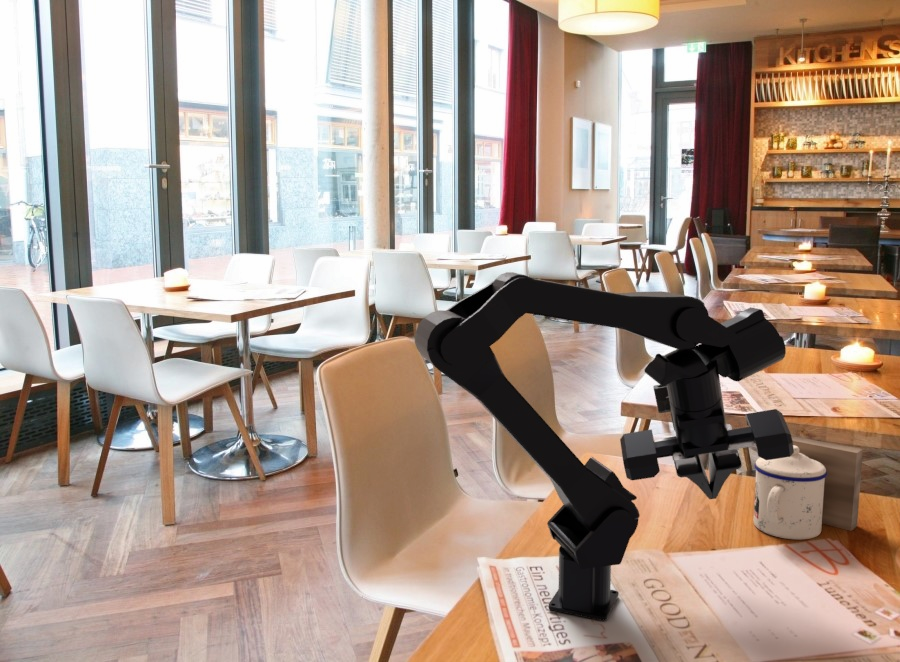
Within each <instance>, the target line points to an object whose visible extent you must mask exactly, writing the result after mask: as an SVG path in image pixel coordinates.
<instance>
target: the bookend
mask: <svg viewBox="0 0 900 662" xmlns="http://www.w3.org/2000/svg"><path fill="white" fill-rule="evenodd" d="M791 437H792V441H793V445H795V446H798V447H799V453H802V454H804V455H806V456H807V457H809V458H810V459H813V460H816V461H818V462H820V463H821V464H823V465H824V467H825V468H826V471H827V476H826V477H825V481H824V496H823V511H822V525H827V526H830V527H834V528H837V529H843V530H846V531H850V532H852V531H853V530H854V529H856V528H857V527H858V521H859V520H858V519H859V504H860V495H861V493H860V492H861V491H860V490H861V480H862V479H861V477H862V465H863V453H864V452H863V451H864V449H863V448H859V447H853V446H849V445H848V446H847V445H841V444H838V443H832V442H826V441H821V440H816V439H810V438H806V437H805V438H804V437H801V436H795V435H791Z"/></svg>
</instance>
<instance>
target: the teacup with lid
mask: <svg viewBox="0 0 900 662" xmlns="http://www.w3.org/2000/svg"><path fill="white" fill-rule="evenodd" d="M793 449H794V453H793V454H792V455H791V456H790V457H785V458H778V459H772V460H765V459H763V458H761V457H758V458H757V459H756V461H755V463H754V469H755V484H754V485H755V486H754V504H753V524H754V526H755V527H756V528H757V529H758V530H760V531H761V532H763V533H764V534H766V535H769V536H772V537H776V538H781V539H785V540H787V539H788V540H799V541H800V540H801V541H802V540H808V539H809V540H810V539H813V538H816V537H818V536H819V535H820V534H821V532H822V525H823V524H822V511H823V496H824V481H825V477H826V476H827V471H826V468H825V467H824V465H823V464H821V463H820V462H818V461H816V460H813V459H810V458H809V457H807V456H806V455H804V454H802V453H799V447H798V446H795V445H793Z"/></svg>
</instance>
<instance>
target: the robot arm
mask: <svg viewBox="0 0 900 662" xmlns="http://www.w3.org/2000/svg"><path fill="white" fill-rule="evenodd" d="M526 314H529V315H530V314H531V315H535V316H541V317H547V318H554V319H560V320H566V321H571V322H578V323H584V324H585V323H586V324H589V325H596V326H601V327H608V328H609V327H610V328H612V329H613V328H615V329H619V330H621V331H625V332H627V333H630V334H632V335H635V336H638V337H641V338H643V339H646V340H649V341H652V342H654V343H657V344H660V345H664V346H667V347H670V348H673V349H674V350H672V351H669V353H666V354H664V355H662V354H660V353H656V354H655V356H654V359H652V360H651V361H650V362H648V363H647V365H646V367H645V368H644V373H645V374H646V375H647V376H649V377H650V378H651V379H652V380H654V381H655V382H656V383H657V384H655V385H653V386H652V388H653V391H654V397H655V401H656V407H657V412H658V414H663V413H664V414H666V413H669V412H670V417H671V422H672V426H673V427H672V428H673V431H674V432H675V436H669V437H663V438H662V437H661V438H657V439H654V435H653V430H652V429H647V430H646V429H645V430H640V431H633V432H627V433H623V435H622V436H621V437H620V439H619V440H620V441H619V442H620V447H621V456H622V463H623V466H624V467H623V468H624V471H625V472H624V473H625V476H626V479H628V480H630V481H639V480H645V479H651V478H655V477H656V476H657V475H658V473H660V466H659V460H658V459H661V458H667V457H671V458H672V461H673V463H674V467H675V473H676V476H677V477H679V478H687V479H688V480H690V481H691V482H692V483H693V484H695V485H696V486H697V487H698V488H699V489H700V491H702V493H703V494H704V495H705V496H706V497H707V498H708V499H709V500H715V499H717V498H718V496H719V494H720V492H721V490H722V487H723V486H724V484H725V482H726V480H728V479H729V477H730V475H731V474H732V473H733V471H736V470H739V469H741V468H742V460H741V457H740V453H739V451H740V449H744V448H750V447H754V446H755V447H756V454H757V457H758V458H760V457H761V458H763V459H765V460H772V459H778V458H785V457H790V456H791V455H792V454H793V453H794V449H793V441H792V437H791V436H792V434H791V432H790V431H791V430H790V429H789V427H788V424H787V422H786V419H785V417H784V415H783V413H782V412H781V411H780V410H778V409H777V408H773V409H768V410H761V411H756V412H749V413H745V415H744V416H745V422H746V425H747V426H746V427H740V428H735V429H733V427H732V425H731V424H730V423H727V421H726V420H727V419H726V414H725V413H726V412H725V407H724V400H723V394H722V393H723V392H722V387H721V381H720V376H721V377H723V378H728V379H729V380H732V381H733V382H740V381H743V380H745V379H746V378H749V377H751V376H752V375H755V374H756V373H759V372H760V371H763V370H765V369H767V368H769V367H771V366H773V365H775V364H777V363H779V362H781V361H783V360H784V358H785V356H786V354H787V353H786V351H787V349H786V342H785V340H784V338H783V336H782V335H780V334H779V332H778V330H777V328H776V327H775V326H774V325H773V324H772V322H771V321H769V320H768V319H767V318H766V317H765V314H764V310H763V309H761V308H756V307H749V308H747V309H744V310H742V311H741V312H740V313H738V314H737V315H736V316H733V317H731V318H729V319H727V320H726V321H723V322H721V323H720V322H719V321H717V320H716V319H714V318H712V317H711V316H709V315H710V314H709V311H708V309H707V307H706V306H705V302H703V301H702V299H700V298H696V297H694V296H689V295H685V294H684V295H683V294H679V293H673V292H669V291H661V290H660V291H634V292H611V291H604V290H602V289H601V290H600V289H594V288H589V287H583V286H577V285H572V284H567V283H566V284H565V283H561V282H554V281H550V280H544V279H539V278H532V277H530V276H528V275H525V274H521V273H517V272H511V271H509V272H508V271H507V272H505V273H501V274H500V275H498V276H497V277H496V278H495V279H494V280H492V281H491V282H489V284H487V285H486V286H484V287H482V288H480V289H479V290H476V291H474V292H473V293H471V294H469V295H468V296H466V297H464V298H462V299H460V300H459V301H457V302H456V303H455V304H453V305H452V306H450V307H448V308H447V309H446V310H441V309H440V310H436V311H432V312H430V313H428V314H427V315H425V316H424V317H423V318H422V320H420V322H419V323H418V325H417V328H416V330H415V342H414V344H415V348H416V349H417V351H418V352H419V354H420V356H421V357H423V358H424V360H426V361H428V363H430V364H431V365H432V366H433V367H434V368H435V369H437V370H438V371H439V372H440V373H442V374H443V375H445V377H447V378H448V379H450V380H451V381H452V382H454V383H455V384H457V385H458V386H459V387H460V388H462V389H464V391H466V392H468V393H469V394H470V395H472V396H473V397H474V398H475V399H476V400H477V402H479V403H480V405H482V407H483V408H485V410H486V411H487V412H488V413H489V414H490V415H491V416H492V418H493V419H495V421H496V422H497V423H498V424H499V425H500V426H501V427H502V429H504V431H506V433H507V434H508V435H509V436H510V437H511V438H512V439H513V441H514V442H515V443H516V444H517V445H518V446H519V447H520V448H521V449H522V450H523V451H524V452H525V453H526V454H527V455H528V456H529V458H530V459H531V460H532V461H533V462H534V463H535V465H536V466H537V467H538V468H539V469H540V470H541V471H542V472H543V474H544V475H546V477H548V478H549V480H550V481H551V483H552V485H553V488H554V489H555V492H556V494H557V496H558V498H559V500H560V501H561V503H562V506H561V507H560V508H559V509H558V510H557V511H556V512H555V513H554V514H553V515H552V517H550V519H549V520H548V521H547V528H548V530H549V533H550V536H551V538H552V539H553V540H554V541H556V542H557V543H558V544H559V545H560V546H559V548H558V589H557V590H556V592H555V594H554V595H553V597H552V598H551V599H550V601H549V603H548V609H549V610H550V611H553V612H559V613H563V614H569V615H573V616H577V617H578V616H579V617H583V618H588V619H594V620H599V621H607V620H608V618H609V616H610V615H611V613H612V611H613V609H614V607H615V604H616V602H617V601H618V599H619V596H620V595H619V591H617V590H615V589H611V585H612V582H611V580H612V578H611V577H612V576H611V574H612V573H611V572H612V566H617V565H619V566H620V565H621V564H622V562H623V558H624V556H625V553H626V550H627V548H628V545H629V543H630V540H631V538H632V537H633V536H634V534H635V533H636V531H637V528H638V525H639V518H640V512H639V509H638V507H637V506H636V504H635V503H634V502H633V501H636V500H637V498H638V497H637V496H636V495H635V494H634V493H633V492H631V491H629V490H628V489H627V488H626V487H624V486H623V483H622V482H621V480H620V479H619V477H618V476H617V474H616V473H615V472H614V471H612V470H611V469H610V468H609V467H607V466H605V465H604V464H603V463H602V462H600V461H598V460H597V459H596V458H594V456H590V457H589V458H588V460H587V461H586V463H584V464H583V462H582V461H581V460H580V459H579V458H578V457H577V455H575V453H574V452H573V451H572V450H571V449H570V448H569V446H568V445H567V444H566V443H565V442H564V441H563V440H562V439H561V437H559V435H558V434H557V433H556V432H555V431H554V430H553V428H552V427H550V424H548V423H547V422H546V421H545V420H544V418H542V417H543V416H541V415H540V414H539V413H538V411H537V410H535V408H533V406H532V405H531V404H530V403H529V402H528V401H527V399H525V397H524V396H523V395H522V393H520V392H519V391H518V390H517V388H516V387H515V386H514V385H513V384H512V383H511V381H510V380H509V379H508V378H507V377H506V375H505V374H504V372H503V369H502V368H501V366H500V363H499V361H498V359H497V357H496V355H495V352H494V351H493V350H492V347H491V346H493V345H494V344H495V343H497V342H498V341H499V340H500V339H501V338H502V337H503V336H505V334H506V332H508V331H509V329H510V328H511V327H512V326H513V325H514V324H515V323H516V322H517V321H518V320H519V319H520V318H522V317H523V316H525V315H526ZM706 454H707V455H708V465H709V466H708V467H709V468H708V471H709V478H708V475H707V472H706V470H705V467H704V464H703V462H702V459H701V456H700V455H706Z"/></svg>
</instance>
